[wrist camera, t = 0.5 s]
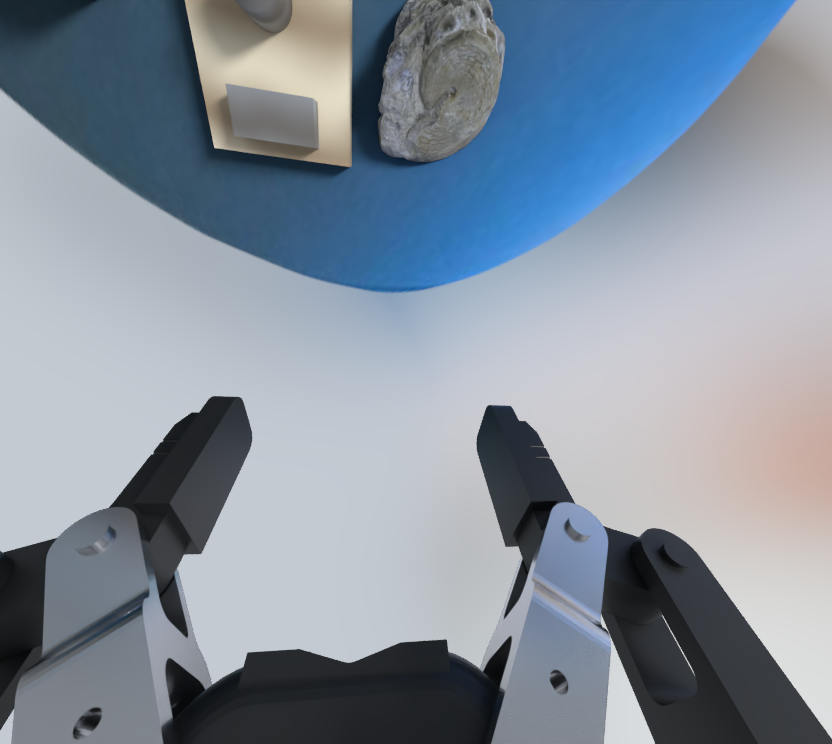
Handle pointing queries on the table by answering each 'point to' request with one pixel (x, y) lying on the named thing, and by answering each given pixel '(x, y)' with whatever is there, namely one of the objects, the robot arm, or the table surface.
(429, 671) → the robot arm
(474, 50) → the fossilized seashell
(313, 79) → the shaft block
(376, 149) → the table surface
